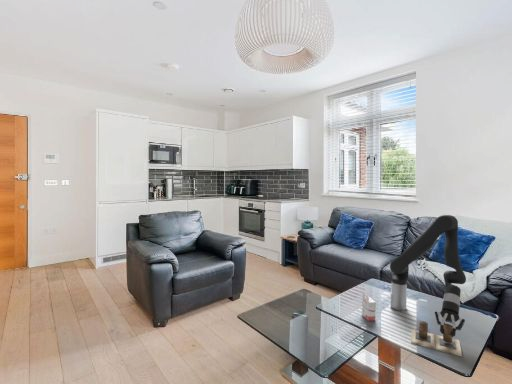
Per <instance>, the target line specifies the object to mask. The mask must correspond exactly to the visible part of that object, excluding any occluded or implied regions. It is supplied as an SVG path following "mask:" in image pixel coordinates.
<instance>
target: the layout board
mask: <svg viewBox="0 0 512 384" xmlns="http://www.w3.org/2000/svg"><path fill="white" fill-rule="evenodd" d="M410 335H411V337H410V344H414V345H418V346H422V347H425V348H429V349H432V350H436V351H440V352H443V353H447V354H451V355H454V356H459V357H463V354H462V353H463V352H462V347H461V342H460V339H455V338H452V343H448V342H445V341H444V340H443V335H439V334H435V333H430V332H428V334H427V339H422V338H420V337H419V329H415V328H411V334H410Z"/></svg>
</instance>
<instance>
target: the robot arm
mask: <svg viewBox="0 0 512 384" xmlns="http://www.w3.org/2000/svg"><path fill="white" fill-rule="evenodd" d="M458 229H459V222H458V219H457V218H456V216H454V215H450V214H442V215H439V216H438V217H436V219H435V220H434V221H433V222H432V223H431V224H430V226H429V227H428V228H427V229H426V230H425V231H424V232H422V234H420V235H419V236H418V237H416V239H414V240H413V241H412V242H411V243H410V245H408V247H407V248H406V249H405V250H404V251H403V252H402V253H401V254H400V255H399V256H397V257H396V258H395V259H394V260H392V261H391V262H390V264H389V269H390V271H391V272H392V273H393V274H392V276H391V284H390V286H391V289H390V290H391V293H390V308H392V309H394V310H397V311H406V310H407V289H408V287H407V285H408V279H409V270H410V269H409V267H410V264H412V263H413V262H415V261H416V260H418V259H419V258H421V257H422V256H424V255H425V254H426V253H427V252H428V251H430V250H431V248H432V247H433V246H434V244H435V242H436V241H437V239H438V238H439V237H440V236H442V235H443V234H444V239H445V240H444V241H445V242H444V243H445V244H444V247H443V248H444V250H443V254H444V261H445V262H444V263H445V265H446V266H447V267H450V268H452V269H454V270H445V271H444V272H443V275H442V276H443V280H444V295H443V299H442V304H441V305H442V307H441V311H440V312H438V311H434V315H435V320H436V323H437V325H439V326H440V327H439V328H440V329H439V332H440V334H442V335H443V324H447V323H450V324H452V326H453V329H452V338H454V337H456V332H457V331H461V330H462V328H463V327H464V325H465V323H466V319H464V318H461V317H460V307H461V291H462V289H461V288H460V287H458V286H457V285H464V284H465V283H466V282H467V277H466V274H465V272H464V270H463V268H462V265H461V261H460V253H459V247H458V246H459V245H458V232H459V231H458ZM454 284H457V285H454ZM440 317H441V318H442V320H441V321H440ZM456 322H459V324H458V325H457V326H456Z"/></svg>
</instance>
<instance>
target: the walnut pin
mask: <svg viewBox="0 0 512 384" xmlns="http://www.w3.org/2000/svg"><path fill="white" fill-rule="evenodd" d="M452 329H453V324H452V325H451V324H449V323H445V324H443V334H442V336H443V340H444V341H445V342H448V343H452V339H453V337H452Z"/></svg>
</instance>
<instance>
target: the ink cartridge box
mask: <svg viewBox="0 0 512 384" xmlns="http://www.w3.org/2000/svg"><path fill="white" fill-rule="evenodd" d="M376 304H377V302H376V301H375V300H373V298H371V296H368V295H366V293H365V292H362V301H361V306H362V307H361V315H362V316H363V317H364V318H365V319H366V320H367V321H368V322H370V321H371V322H372V321H376Z"/></svg>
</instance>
